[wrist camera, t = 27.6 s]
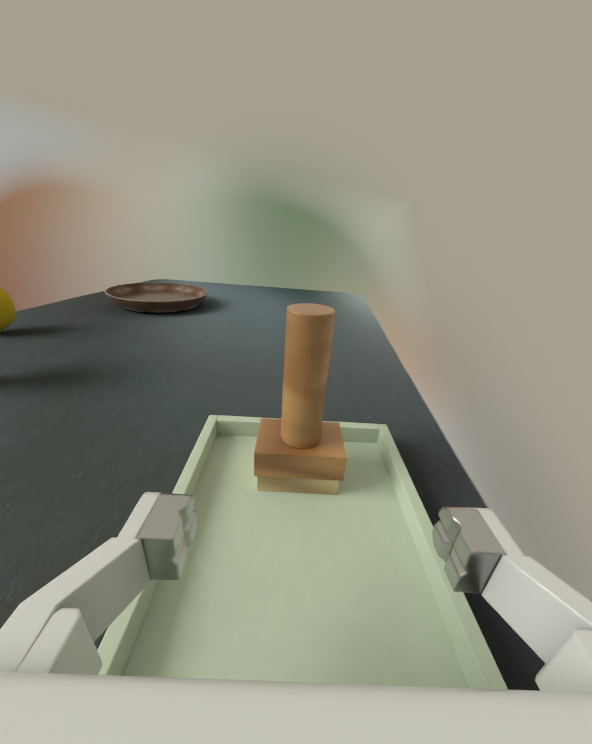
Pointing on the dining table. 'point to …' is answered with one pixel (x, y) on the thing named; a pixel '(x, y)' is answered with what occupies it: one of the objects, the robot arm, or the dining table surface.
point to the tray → (303, 580)
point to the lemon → (6, 310)
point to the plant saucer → (156, 297)
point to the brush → (302, 413)
